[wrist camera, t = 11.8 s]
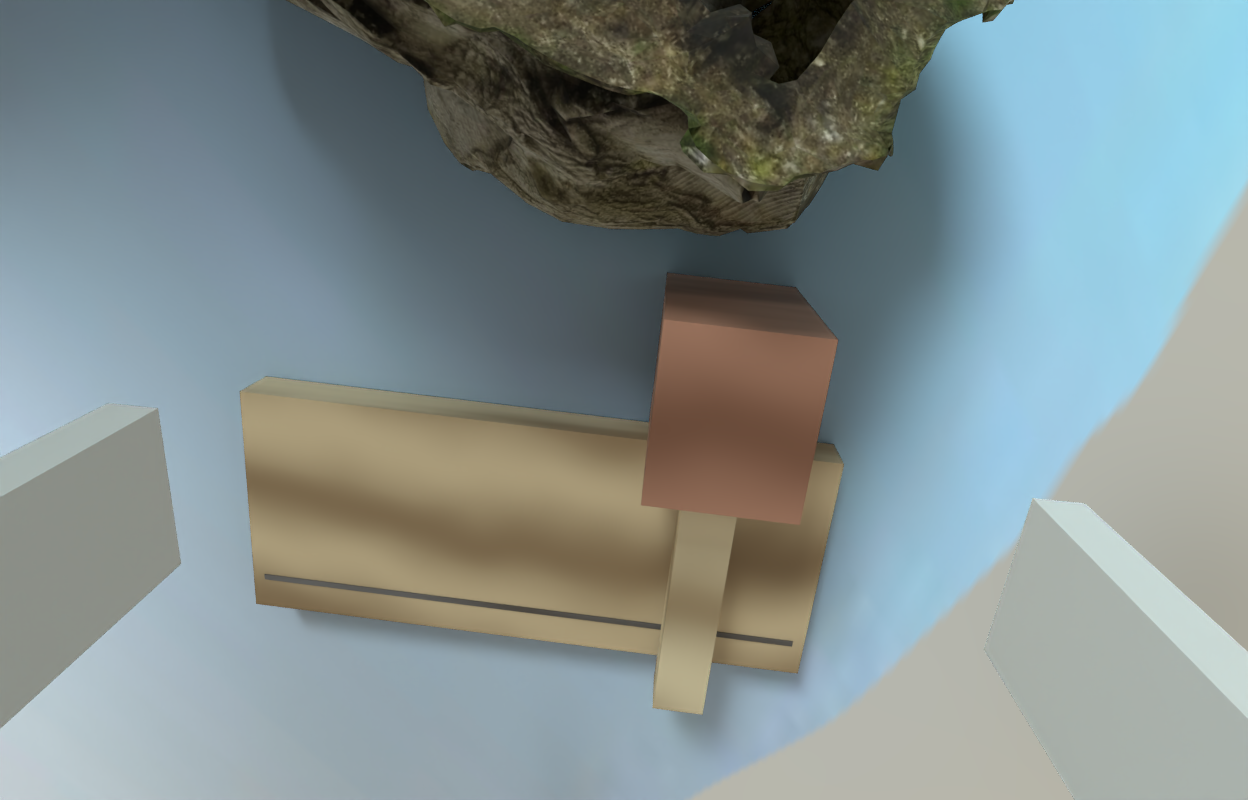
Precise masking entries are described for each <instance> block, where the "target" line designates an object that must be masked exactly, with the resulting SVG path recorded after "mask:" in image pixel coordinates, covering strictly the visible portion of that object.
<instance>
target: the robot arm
mask: <svg viewBox="0 0 1248 800" xmlns="http://www.w3.org/2000/svg"><path fill="white" fill-rule="evenodd" d="M180 564H181V560H180V554H179V547H178V540H177V534H176V527H175V520H174V513H173V507H172V500H171V493H170V486H169V480H168V473H167V466H166V459H165V453H164V446H163V439H162V433H161V426H160V419H159V412H158V408H150V407H141V406H131V405H121V404H111V403H107V404H105V405H103V406H101V407H99V408H97V409H95V410H93V411H91V412H89V413H88V414H86V415H84V416H82V417H80V418H78V419H76V420H74V421H72V422H70V423H68V424H66V425H64V426H62V427H60V428H58V429H56V430H54V431H52V432H50V433H48V434H46V435H44V436H42V437H40V438H38V439H36V440H34V441H32V442H30V443H28V444H26V445H24V446H22V447H20V448H18V449H16V450H14V451H12V452H10V453H8V454H6V455H4V456H2V457H0V728H1V727H3V726H4V725H5V724H6V723H7V722H8V721H9V720H10V719H11V718H12V717H14V716H15V715H16V714H17V713H18V712H19V711H20V710H21V709H22V708H23V707H25V706H26V705H27V704H28V703H29V702H30V701H31V700H32V699H33V698H34V697H36V696H37V695H38V694H39V693H40V692H41V691H42V690H43V689H44V688H45V687H46V686H48V685H49V684H50V683H51V682H52V681H53V680H54V679H55V678H56V677H57V676H59V675H60V674H61V673H62V672H63V671H64V670H65V669H66V668H67V667H68V666H70V665H71V664H72V663H73V662H74V661H75V660H76V659H77V658H78V657H79V656H81V655H82V654H83V653H84V652H85V651H86V650H87V649H88V648H89V647H90V646H91V645H93V644H94V643H95V642H96V641H97V640H98V639H99V638H100V637H101V636H102V635H104V634H105V633H106V632H107V631H108V630H109V629H110V628H111V627H112V626H113V625H115V624H116V623H117V622H118V621H119V620H120V619H121V618H122V617H123V616H124V615H125V614H127V613H128V612H129V611H130V610H131V609H132V608H133V607H134V606H135V605H136V604H138V603H139V602H140V601H141V600H142V599H143V598H144V597H145V596H146V595H147V594H149V593H150V592H151V591H152V590H153V589H154V588H155V587H156V586H157V585H158V584H160V583H161V582H162V581H163V580H164V579H165V578H166V577H167V576H168V575H169V574H170V573H172V572H173V571H174V570H175V569H176V568H177V567H178V566H179V565H180ZM984 650H985V652H986V654H987V656H988V657H989V659H990V661H991V662H992V664H993V666H994V667H995V669H996V671H997V672H998V674H999V676H1000V677H1001V679H1002V680H1003V682H1004V684H1005V685H1006V687H1007V689H1008V690H1009V692H1010V694H1011V696H1012V697H1013V699H1014V700H1015V702H1016V704H1017V705H1018V707H1019V709H1020V710H1021V712H1022V714H1023V715H1024V717H1025V719H1026V720H1027V722H1028V724H1029V725H1030V727H1031V729H1032V730H1033V732H1034V734H1035V735H1036V737H1037V739H1038V740H1039V742H1040V744H1041V745H1042V747H1043V749H1044V750H1045V752H1046V754H1047V755H1048V757H1049V759H1050V760H1051V762H1052V763H1053V765H1054V767H1055V769H1056V770H1057V772H1058V774H1059V775H1060V777H1061V779H1062V780H1063V782H1064V783H1065V785H1066V787H1067V788H1068V790H1069V792H1070V793H1071V795H1072V797H1073V798H1074V800H1248V652H1247V651H1246V650H1245V649H1244V648H1243V647H1242V646H1241V645H1240V644H1239V643H1238V642H1236V641H1235V640H1234V639H1233V638H1232V637H1231V636H1230V635H1229V634H1228V633H1227V632H1225V631H1224V630H1223V629H1222V628H1221V627H1220V626H1219V625H1218V624H1217V623H1216V622H1214V621H1213V620H1212V619H1211V618H1210V617H1209V616H1208V615H1207V614H1206V613H1205V612H1203V611H1202V610H1201V609H1200V608H1199V607H1198V606H1197V605H1196V604H1195V603H1193V601H1191V600H1190V599H1189V598H1188V597H1187V596H1186V595H1185V594H1184V593H1183V592H1181V591H1180V590H1179V589H1178V588H1177V587H1176V586H1175V585H1174V584H1173V583H1172V582H1170V581H1169V580H1168V579H1167V578H1166V577H1165V576H1164V575H1163V574H1162V573H1161V572H1159V571H1158V570H1157V569H1156V568H1155V567H1154V566H1153V565H1152V564H1151V563H1150V562H1148V561H1147V560H1146V559H1145V558H1144V557H1143V556H1142V555H1141V554H1140V553H1138V552H1137V551H1136V550H1135V549H1134V548H1133V547H1132V546H1131V545H1130V544H1129V543H1128V542H1127V541H1126V540H1124V539H1123V538H1122V537H1121V536H1120V535H1119V534H1118V533H1116V532H1115V530H1113V529H1112V528H1111V527H1110V526H1109V525H1108V524H1107V523H1106V522H1105V521H1103V520H1102V519H1101V518H1100V517H1099V516H1098V515H1097V514H1096V513H1095V512H1094V511H1093V510H1091V509H1090V508H1089V507H1088V506H1087V505H1086V504H1085V503H1074V502H1065V501H1056V500H1046V499H1036V498H1033V499H1032V502H1031V505H1030V508H1029V511H1028V514H1027V517H1026V520H1025V523H1024V527H1023V530H1022V533H1021V536H1020V539H1019V542H1018V545H1017V548H1016V552H1015V554H1014V558H1013V561H1012V564H1011V567H1010V570H1009V573H1008V576H1007V579H1006V582H1005V585H1004V589H1003V592H1002V595H1001V598H1000V601H999V604H998V608H997V610H996V613H995V616H994V620H993V623H992V626H991V629H990V632H989V635H988V638H987V641H986V644H985V647H984Z"/></svg>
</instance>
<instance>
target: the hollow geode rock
mask: <svg viewBox="0 0 1248 800" xmlns="http://www.w3.org/2000/svg"><path fill="white" fill-rule="evenodd" d="M286 1H288V2H290V3H292V4H294V5H296V6H299V7H301V8H303V9H304V10H306V11H308V12H310V13H312V14H314V15H316V16H318V17H320V18H322V19H323V20H325V21H327V22H329V23H331V24H333V25H335V26H337V27H339V28H341V29H343V30H344V31H346V32H348V33H350V34H352V35H354V36H356V37H358V38H360V39H361V40H363V41H365V42H366V43H368V44H369V45H371V46H373V47H374V48H376V49H377V50H379V51H381V52H382V53H384V54H385V55H387V56H388V57H390V58H392V59H393V60H395V61H396V62H398V63H401V64H405V65H408V66H411V67H413V68H414V69H415V70H416V71H417V72H418V73H419V74H420V75H421V76H422V77H423V80H424V87H425V93H426V100H427V107H428V110H429V112H430V114H431V116H432V119H433V121H434V123H435V125H436V127H437V129H438V131H439V133H440V135H441V137H442V139H443V141H444V143H445V145H446V146H447V147H448V148H449V150H450V151H451V152H452V154H453V155H454V156H455V158H456V159H457V160H458V161H459V163H461V164H462V165H464V166H466V167H467V168H469V169H471V170H472V171H474V170H480V171H483V172H487V173H490V174H492V175H493V176H494V177H495V178H497V179H498V180H499V181H500V182H502V183H503V184H504V185H505V186H507V187H508V188H509V189H510V190H512V191H513V192H514V193H515V194H516V195H518V196H519V197H520V198H521V199H523V200H524V201H525V202H526V203H528V204H530V205H532V206H534V207H535V208H537V209H539V210H541V211H543V212H545V213H547V214H549V215H551V216H553V217H555V218H556V219H558V220H560V221H562V222H568V223H575V224H582V225H588V226H595V227H602V228H608V229H677V228H678V229H681V230H685V231H689V232H692V233H696V234H703V235H710V236H720V235H724V234H727V233H730V232H733V231H736V230H739V229H742V230H743V231H745V232H746V233H755V232H764V231H771V230H779V229H786V228H788V227H789V226H790V225H791V224H792V223H795V221H796V220H797V219H798V217H799V216H800V215H801V213H802V212H803V211H804V209H805V208H806V207H807V206H808V205H809V204H810V203H811V201H812V200H813V198H814V197H815V195H816V193H817V192H818V190H819V189H820V187H821V186H822V184H823V182H824V180H825V178H826V176H827V174H828V173H829V172H832V171H836V170H839V169H841V168H844V167H846V166H848V165H851V164H855V165H859V166H863V167H866V168H870V169H873V170H877V171H878V170H879V168H880V167H881V165H882V163H883V162H884V160H885V159H886V157H887V155H889V156H892V155H893V138H892V130H893V126H894V123H895V119H896V116H897V112H898V108H899V105H900V101H901V99H902V98H904V97H905V96H907V95H908V94H910V93H911V92H912V91H914V90H915V89H916V85H917V81H918V77H919V74H920V72H921V71H922V70H923V68H924V67H925V66H926V64H927V63H928V62H929V60H930V59H931V56H932V54H933V51H934V49H935V47H936V45H937V43H938V42H939V40H940V38H941V36H942V34H943V33H944V31H945V29H947V28H949V27H950V26H952V25H954V24H955V23H957V22H959V21H962V20H964V19H967V18H970V17H973V16H976V15H978V14H981V13H983V22H988V21H993V20H994V19H995V18H996V17H997V15H998V14H999V13H1000V12H1001V11H1002V10H1003V8H1004V7H1005V6H1006V5H1008V4H1013V2H1014V0H286ZM771 1H772V2H771ZM769 2H771V4H770V5H769V6H768V7H766V8H765V9H764V10H763V11H761V12H760V13H759V14H758V15H756V16H755V17H754V18H753V19H752V11H754V10H756V9H758V8H760V7H762V6H763V5H765V4H767V3H769Z"/></svg>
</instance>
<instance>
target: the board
mask: <svg viewBox="0 0 1248 800" xmlns="http://www.w3.org/2000/svg"><path fill="white" fill-rule="evenodd" d="M240 401H241V414H242V426H243V439H244V452H245V465H246V478H247V491H248V503H249V516H250V529H251V542H252V555H253V568H254V580H255V593H256V604H262V605H270V606H278V607H285V608H293V609H301V610H309V611H317V612H324V613H332V614H340V615H348V616H355V617H363V618H371V619H379V620H386V621H394V622H402V623H410V624H418V625H425V626H433V627H441V628H449V629H456V630H464V631H472V632H480V633H487V634H495V635H503V636H511V637H519V638H526V639H534V640H542V641H550V642H557V643H565V644H573V645H581V646H588V647H596V648H604V649H612V650H620V651H627V652H635V653H643V654H651V655H657V653H658V646H659V639H660V632H661V625H662V618H663V611H664V604H665V597H666V590H667V583H668V576H669V569H670V562H671V555H672V548H673V541H674V534H675V527H676V520H677V513H678V510H674V509H666V508H658V507H650V506H642V505H641V498H642V488H643V478H644V468H645V458H646V448H647V438H648V428H649V422H643V421H635V420H627V419H618V418H610V417H601V416H593V415H585V414H576V413H568V412H560V411H551V410H543V409H534V408H526V407H518V406H509V405H501V404H493V403H484V402H476V401H467V400H459V399H451V398H442V397H434V396H426V395H417V394H409V393H401V392H392V391H384V390H375V389H367V388H359V387H350V386H342V385H334V384H325V383H317V382H308V381H300V380H292V379H283V378H275V377H267V376H266V377H264V378H263V379H261V380H259V381H257V382H256V383H254V384H252V385H250V386H249V387H247V388H245V389H243V390H242V391H240ZM843 467H844V463H843V461H842V459H841V457H840V455H839V454H838V452H837V450H836V448H835V446H834V444H827V443H819V442H817V445H816V450H815V454H814V459H813V464H812V469H811V474H810V478H809V483H808V488H807V493H806V498H805V502H804V507H803V512H802V517H801V522H800V525H795V524H787V523H779V522H771V521H763V520H755V519H747V518H739V517H737V519H736V525H735V531H734V536H733V542H732V548H731V554H730V559H729V565H728V571H727V577H726V582H725V588H724V594H723V599H722V605H721V611H720V617H719V622H718V628H717V634H716V640H715V645H714V651H713V657H712V662H713V663H721V664H728V665H736V666H744V667H752V668H759V669H767V670H775V671H783V672H790V673H798V669H799V665H800V660H801V656H802V651H803V647H804V642H805V638H806V633H807V629H808V624H809V620H810V615H811V611H812V606H813V602H814V597H815V593H816V588H817V584H818V579H819V575H820V570H821V566H822V561H823V557H824V552H825V548H826V543H827V539H828V534H829V530H830V525H831V521H832V516H833V512H834V507H835V503H836V498H837V494H838V489H839V485H840V480H841V476H842V471H843Z"/></svg>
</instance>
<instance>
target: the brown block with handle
mask: <svg viewBox="0 0 1248 800" xmlns="http://www.w3.org/2000/svg"><path fill="white" fill-rule="evenodd" d="M837 344H838V339H837V338H836V337H835V335H834V334H833V333H832V332H831V330H830V329H829V328H828V327H827V325H826V324H825V323H824V322H823V320H822V319H821V318H820V317H819V316H818V314H817V313H816V312H815V311H814V309H813V308H812V307H811V306H810V304H809V303H808V302H807V301H806V299H805V298H804V297H803V296H802V295H801V293H800V292H799V291H798V290H797V288H796V287H788V286H780V285H771V284H762V283H753V282H745V281H736V280H727V279H719V278H710V277H701V276H692V275H684V274H675V273H667V279H666V287H665V295H664V303H663V311H662V320H661V328H660V336H659V344H658V352H657V360H656V368H655V377H654V385H653V393H652V401H651V409H650V418H649V428H648V438H647V448H646V458H645V468H644V478H643V488H642V498H641V505H642V506H650V507H658V508H666V509H674V510H678V513H677V520H676V527H675V534H674V541H673V548H672V555H671V562H670V569H669V576H668V583H667V590H666V597H665V604H664V611H663V618H662V625H661V632H660V639H659V646H658V653H657V659H656V666H655V673H654V688H653V708H656V709H664V710H671V711H679V712H686V713H694V714H701V715H702V714H703V708H704V703H705V697H706V691H707V685H708V680H709V674H710V668H711V663H712V657H713V651H714V645H715V640H716V634H717V628H718V622H719V617H720V611H721V605H722V599H723V594H724V588H725V582H726V577H727V571H728V565H729V559H730V554H731V548H732V542H733V536H734V531H735V525H736V519H737V517H739V518H747V519H755V520H763V521H771V522H779V523H787V524H795V525H800V522H801V517H802V512H803V507H804V502H805V498H806V493H807V488H808V483H809V478H810V474H811V469H812V464H813V459H814V454H815V450H816V445H817V440H818V435H819V430H820V425H821V421H822V416H823V411H824V406H825V401H826V397H827V392H828V387H829V382H830V377H831V373H832V368H833V363H834V358H835V353H836V349H837Z"/></svg>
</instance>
